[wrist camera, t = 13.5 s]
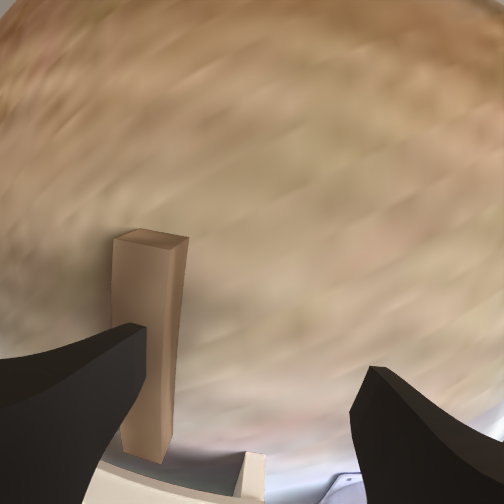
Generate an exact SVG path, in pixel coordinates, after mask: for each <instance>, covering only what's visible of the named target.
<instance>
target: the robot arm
mask: <svg viewBox="0 0 504 504" xmlns="http://www.w3.org/2000/svg"><path fill="white" fill-rule="evenodd" d="M146 347H147V327H146V326H142V325H138V324H135V323H131V322H129V323H125V324H122V325H120V326H117V327H114V328H112V329H109V330H107V331H104V332H102V333H99V334H97V335H94V336H92V337H89V338H86V339H84V340H81V341H78V342H75V343H72V344H69V345H66V346H63V347H60V348H57V349H54V350H50V351H46V352H42V353H38V354H33V355H28V356H23V357H16V358H7V359H0V504H82V502H83V499H84V497H85V494H86V492H87V489H88V487H89V484H90V481H91V479H92V477H93V474H94V472H95V470H96V468H97V465H98V463H99V461H100V459H101V457H102V455H103V453H104V451H105V449H106V447H107V446H108V444H109V443H110V441H111V439H112V438H113V436H114V435H115V433H116V432H117V430H118V428H119V427H120V425H121V424H122V422H123V420H124V419H125V417H126V416H127V414H128V413H129V411H130V409H131V408H132V406H133V404H134V403H135V401H136V399H137V397H138V395H139V393H140V391H141V388H142V386H143V384H144V381H145V379H146ZM349 414H350V426H351V434H352V439H353V444H354V447H355V451H356V455H357V459H358V463H359V467H360V471H361V474H342V475H340V476H339V477H338V478H337V479H336V481H335V482H334V484H333V485H332V487H331V488H330V489H329V491H328V492H327V494H326V495H325V496H324V498H323V499H322V500H321V502H320V503H319V504H504V443H502V442H500V441H497V440H495V439H493V438H490V437H488V436H486V435H484V434H482V433H480V432H478V431H476V430H474V429H472V428H470V427H469V426H467V425H465V424H463V423H462V422H460V421H458V420H457V419H455V418H454V417H452V416H451V415H449V414H448V413H446V412H445V411H444V410H442V409H441V408H439V407H438V406H437V405H435V404H434V403H432V402H431V401H430V400H429V399H427V398H426V397H425V396H423V395H422V394H421V393H420V392H418V391H417V390H416V389H415V388H413V387H412V386H411V385H410V384H408V383H407V382H406V381H405V380H403V379H402V378H401V377H399V376H398V375H397V374H395V373H394V372H393V371H391V370H390V369H388V368H386V367H377V366H369V369H368V371H367V374H366V376H365V378H364V381H363V383H362V385H361V388H360V390H359V392H358V394H357V396H356V399H355V401H354V403H353V405H352V407H351V409H350V411H349Z"/></svg>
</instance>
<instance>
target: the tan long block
mask: <svg viewBox="0 0 504 504" xmlns="http://www.w3.org/2000/svg"><path fill="white" fill-rule="evenodd" d="M188 243H189V237H184V236H179V235H173V234H168V233H163V232H157V231H152V230H147V229H141V228H140V229H138V230H135V231H132V232H130V233H127V234H125V235H122V236H119V237H117V238H114V241H113V257H112V283H111V329H112V328H114V327H117V326H120V325H122V324H125V323H129V322H131V323H135V324H138V325H142V326H146V327H147V347H146V379H145V381H144V384H143V386H142V388H141V391H140V393H139V395H138V397H137V399H136V401H135V403H134V404H133V406H132V408H131V409H130V411H129V413H128V414H127V416H126V417H125V419H124V420H123V422H122V424H121V425H120V434H121V441H122V447H123V452H125V453H127V454H130V455H133V456H136V457H139V458H142V459H145V460H148V461H152V462H155V463H158V464H162V462H163V459H164V457H165V454H166V451H167V449H168V446H169V444H170V441H171V438H172V436H173V412H174V391H175V374H176V360H177V346H178V334H179V323H180V312H181V302H182V293H183V284H184V275H185V267H186V259H187V251H188Z"/></svg>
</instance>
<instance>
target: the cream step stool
mask: <svg viewBox="0 0 504 504" xmlns="http://www.w3.org/2000/svg"><path fill="white" fill-rule="evenodd" d="M265 467H266V454H259V453H252V452H246V454H245V457H244V460H243V464H242V467H241V470H240V474H239V477H238V480H237V483H236V487H235V490H234V493H233V496H232V497H230V496H224V495H218V494H213V493H208V492H203V491H198V490H193V489H189V488H185V487H181V486H177V485H173V484H169V483H166V482H162V481H159V480H155V479H152V478H149V477H146V476H143V475H139V474H136V473H134V472H131V471H128V470H125V469H122V468H120V467H117V466H114V465H112V464H109V463H107V462H104V461H102V460H100V461H99V463H98V465H97V468H96V470H95V472H94V474H93V477H92V479H91V481H90V484H89V487H88V489H87V492H86V494H85V497H84V499H83V502H82V504H265V501H264V487H265Z"/></svg>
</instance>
